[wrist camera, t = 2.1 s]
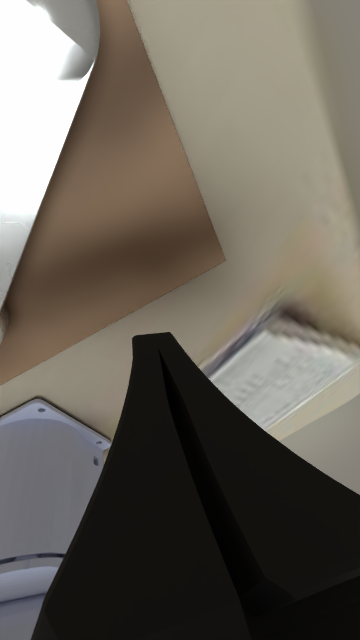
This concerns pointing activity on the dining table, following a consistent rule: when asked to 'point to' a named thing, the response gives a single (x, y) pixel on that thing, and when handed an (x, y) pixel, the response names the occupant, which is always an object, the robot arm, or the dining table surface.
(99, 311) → the board
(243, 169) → the dining table surface
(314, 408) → the dining table surface
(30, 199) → the link
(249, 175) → the dining table surface
